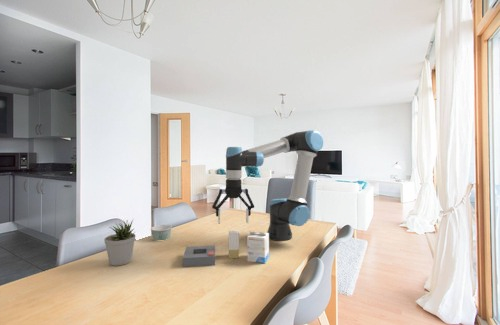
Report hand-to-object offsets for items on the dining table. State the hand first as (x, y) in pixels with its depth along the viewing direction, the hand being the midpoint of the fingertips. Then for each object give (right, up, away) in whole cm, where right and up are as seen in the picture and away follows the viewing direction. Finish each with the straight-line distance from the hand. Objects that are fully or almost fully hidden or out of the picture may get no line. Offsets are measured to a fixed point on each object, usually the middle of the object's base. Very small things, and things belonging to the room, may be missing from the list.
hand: (233, 222), depth 120 cm
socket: (-15, -16, -4) cm, 23 cm away
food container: (-44, -16, +27) cm, 54 cm away
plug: (0, -16, 0) cm, 16 cm away
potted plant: (-51, -17, -7) cm, 54 cm away
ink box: (+12, -17, -3) cm, 21 cm away
